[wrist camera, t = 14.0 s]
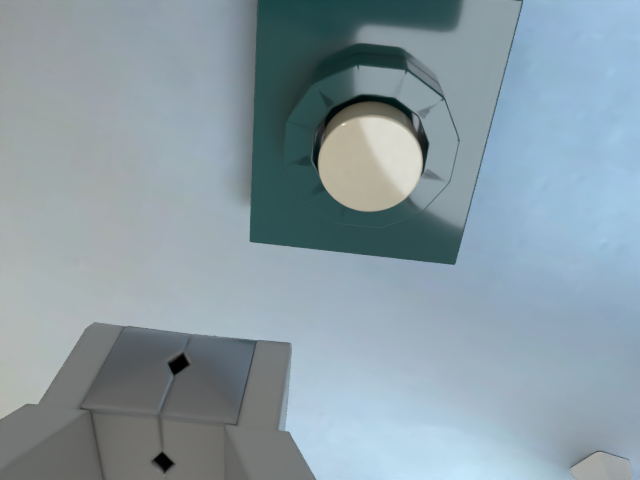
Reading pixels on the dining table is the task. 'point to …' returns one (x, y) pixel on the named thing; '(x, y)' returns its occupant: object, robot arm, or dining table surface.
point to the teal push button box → (378, 86)
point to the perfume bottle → (602, 468)
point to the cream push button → (370, 156)
